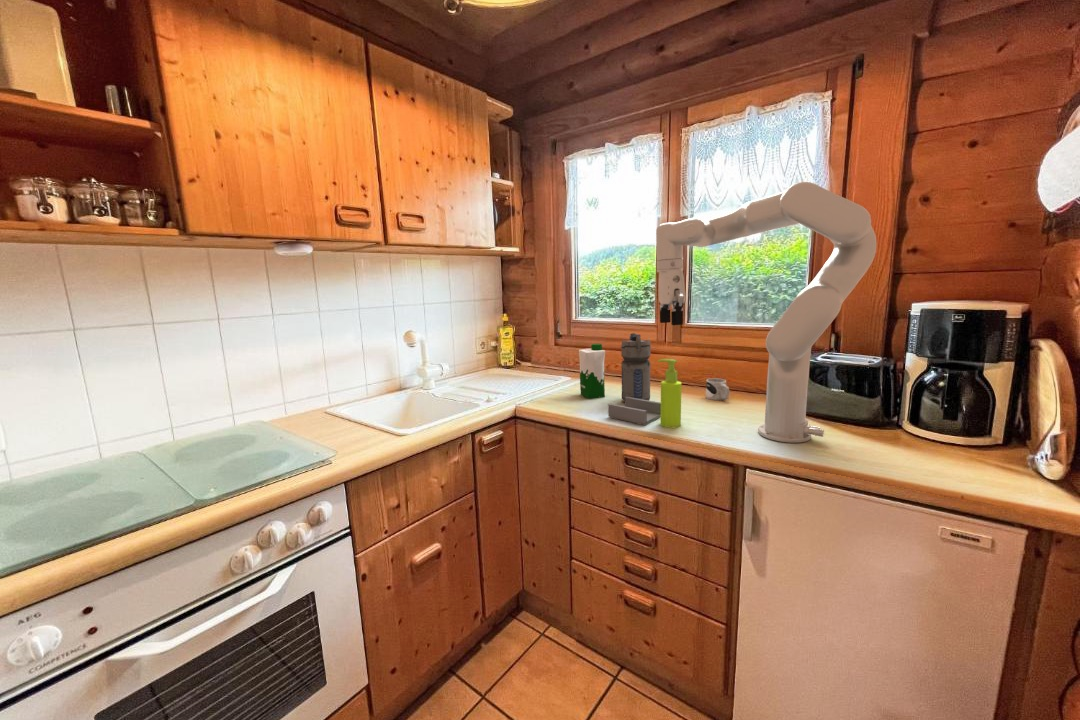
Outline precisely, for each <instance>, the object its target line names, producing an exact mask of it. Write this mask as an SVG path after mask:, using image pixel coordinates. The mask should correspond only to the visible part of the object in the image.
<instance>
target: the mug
mask: <svg viewBox="0 0 1080 720" xmlns="http://www.w3.org/2000/svg"><path fill="white" fill-rule="evenodd" d="M705 381H706V382H705V383H706V384H705V398H706V399H707V400H711V401H724V400H728V399H729V397H730V387H729V386H728V385H727V380H726V379H723V378H719V377H718V378H715V377H713V378H707V379H706V380H705Z"/></svg>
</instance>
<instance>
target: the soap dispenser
mask: <svg viewBox="0 0 1080 720" xmlns="http://www.w3.org/2000/svg"><path fill="white" fill-rule="evenodd" d="M657 362H658V363H661V362H665V363H668V369H667V370H665V376H664V378H665V380H661V381H660V402H661V417H660V421H659V422H660V425H661V426H662V427H665V428H679V427H681V425H682V420H681V419H682V384H683V383H682V382H681V381H680V380H678V370H677V369H675V364H676V363H678V360H677V359H672V358H662V359H658V360H657Z"/></svg>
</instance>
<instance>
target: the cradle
mask: <svg viewBox="0 0 1080 720" xmlns="http://www.w3.org/2000/svg"><path fill="white" fill-rule="evenodd" d="M607 405H608V406H607V407H608V411H607V413H608V417H609V419H615V420H620V421H623V422H624V421H625V422H629V423H632V424H633V423H634V424H638V425H643V426H647V425H649V424H650V423H652V422H655V421H656V420H658V419H661V401H655V400H643V399H637V398H632V397H625V402H624V405H620V404H614V403H609V404H607Z"/></svg>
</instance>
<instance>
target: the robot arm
mask: <svg viewBox="0 0 1080 720" xmlns="http://www.w3.org/2000/svg"><path fill="white" fill-rule="evenodd" d="M798 224H799V225H801V226H803V227H806V228H808V229H810V230H811V231H813V232H815V233H817V234H819V235H821V236H823V237H825V238H826V239H829V241H830V242H831V243H832V244H833V250H832V253H831V255H830V256H829V258H828V259H827V260H826V262H825V263H824V264H823V266H822V268H821V269H820V270H819V271H818V273H817V274H816V275H815V277H814V278H813V279H812V281H811V282H810V283H809V284H808V285H807V286H805V288H803V289H802V290H800V291H799V293H797V295H796V296H795V298H794V299H793V301H792V302H791V303H790V304H789V305H788V307H787V308H786V310H784V312H783V313H782V314H781V315H780V316H779V317H780V318H779V319H778V320H777V321H776V323H775V324H774V325H773V327H772V328H771V329H770V330H769V332H768V333H767V336H766V338H765V347H766V351H767V352H768V354H769V356H768V366H767V379H766V394H765V395H766V398H765V411H764V413H765V414H764V424H762V425H759V426H758V428H757V432H758V434H759V435H760V436H761V437H763V438H765V439H769V440H772V441H777V442H781V443H789V444H790V443H793V444H798V443H805V442H808V441H810V440H811V439H812V435H814V436H815V437H821V438H822V437H824V434H825V430H824V429H822V428H821V427H820V426H816V425H811V424H809V419H806V416H807V415H806V414H807V404H808V403H807V402H808V387H809V377H810V367H811V366H810V363H811V355H812V354H811V352H812V346H813V345H815V343H816V342H817V341H818V340H819V338H820V337H821V336H822V335H823V333H824V332H825V331H826V330H827V329H828V327H829V326H831V324H832V323H833V321H834V320H835V319H836V318H837V316H838V315H839V313H840V311H841V309H842V305H843V302H844V301H845V300H846V299H847V298H848V296H849V295H850V294H851V292H852V291H853V290H855V288H856V286H857V285H858V283H859V282H860V281H861V279H862V278H863V277H864V276H865V274H866V273H867V272H868V270H869V269H870V267H871V265H872V263H873V261H874V259H875V257H876V253H877V246H878V245H877V236H876V232H875V231H874V228H873V226H872V217H871V213H870V212H869V211H868V210H867V209H866V208H865V207H864V206H862V205H860V204H858V203H857V202H854V201H852V200H850V199H847V198H846V197H843V196H841V195H840V194H839V195H838V194H837V193H836V192H835V193H834V192H833V191H830V190H828V189H826V188H824V187H822V186H821V185H818V184H816V183H813V182H810V181H800V182H797V183H793V184H792V185H791V186H789V187H788V188H787V189H785V191H783V192H779V193H776V194H772V195H769V196H765V197H762V198H757V199H753V200H751V201H747V202H746V203H744V204H742V205H741V206H740V207H739V208H738V209H736V210H734V211H732V212H730V213H727V214H723V215H720V216H718V217H713V218H709V219H703V218H699V217H691V218H687V219H683V220H681V221H676V222H664V223H661V224H659V225H657V227H656V230H655V231H656V233H655V234H656V235H655V236H656V238H655V239H656V240H655V241H656V244H655V245H656V273H659V274H658V305H659V323H660V324H665V323H671V325H672V326H682V325H683V324H684V319H683V317H684V314H683V313H684V305H685V303H686V287H685V275H684V272H683V271H684V246H691V247H697V248H702V247H708V246H713V245H718V244H722V243H724V242H725V243H726V242H730V241H733V240H736V239H741V238H745V237H749V236H752V235H757V234H761V233H765V232H768V231H772V230H778V229H781V228H785V227H791V226H794V225H798ZM670 306H671V309H670ZM671 310H672V311H671Z"/></svg>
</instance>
